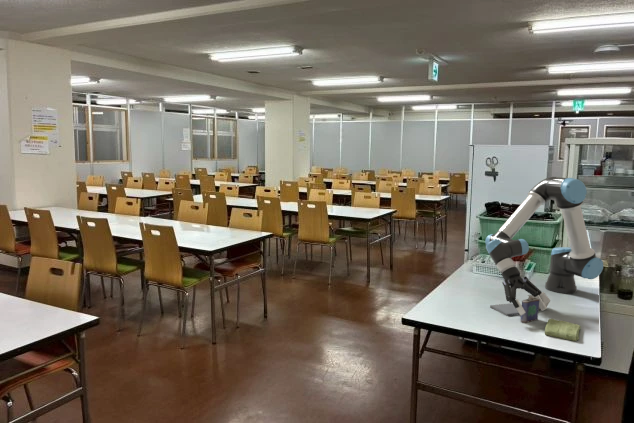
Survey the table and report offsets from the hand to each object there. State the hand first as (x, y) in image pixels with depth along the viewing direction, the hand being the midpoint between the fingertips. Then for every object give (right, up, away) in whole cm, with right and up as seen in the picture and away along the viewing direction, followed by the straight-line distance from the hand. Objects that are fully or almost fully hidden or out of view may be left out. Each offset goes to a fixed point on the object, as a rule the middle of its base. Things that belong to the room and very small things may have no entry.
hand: (534, 311), depth 204 cm
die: (+11, -2, +19) cm, 22 cm away
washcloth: (+7, -7, -9) cm, 14 cm away
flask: (-1, -5, +3) cm, 5 cm away
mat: (-5, -3, +15) cm, 16 cm away
